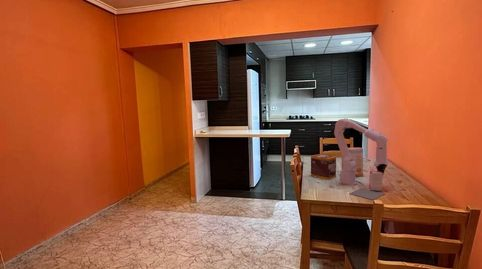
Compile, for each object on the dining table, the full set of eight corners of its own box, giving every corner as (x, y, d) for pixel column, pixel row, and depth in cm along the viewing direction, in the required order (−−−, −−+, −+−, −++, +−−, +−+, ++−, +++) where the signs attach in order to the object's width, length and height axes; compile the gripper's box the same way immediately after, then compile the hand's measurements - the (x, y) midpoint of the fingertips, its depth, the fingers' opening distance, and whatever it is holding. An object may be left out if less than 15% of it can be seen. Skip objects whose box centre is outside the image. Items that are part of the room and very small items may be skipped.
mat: (349, 194, 151) (349, 193, 151) (361, 188, 159) (361, 188, 159) (372, 200, 140) (372, 199, 140) (384, 194, 148) (384, 193, 148)
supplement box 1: (328, 180, 181) (328, 158, 179) (310, 175, 193) (310, 155, 192) (336, 177, 187) (336, 156, 185) (319, 173, 199) (319, 153, 198)
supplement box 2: (382, 191, 152) (383, 172, 151) (371, 191, 153) (372, 172, 153) (378, 188, 158) (379, 170, 157) (368, 188, 159) (369, 170, 158)
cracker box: (360, 174, 192) (360, 147, 190) (363, 176, 186) (363, 148, 184) (341, 174, 193) (341, 147, 191) (343, 176, 187) (343, 148, 185)
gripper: (382, 157, 150) (382, 179, 152) (393, 153, 159) (392, 174, 160) (370, 155, 156) (370, 176, 157) (381, 152, 164) (381, 172, 166)
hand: (380, 175), depth 159 cm, fingers closed
